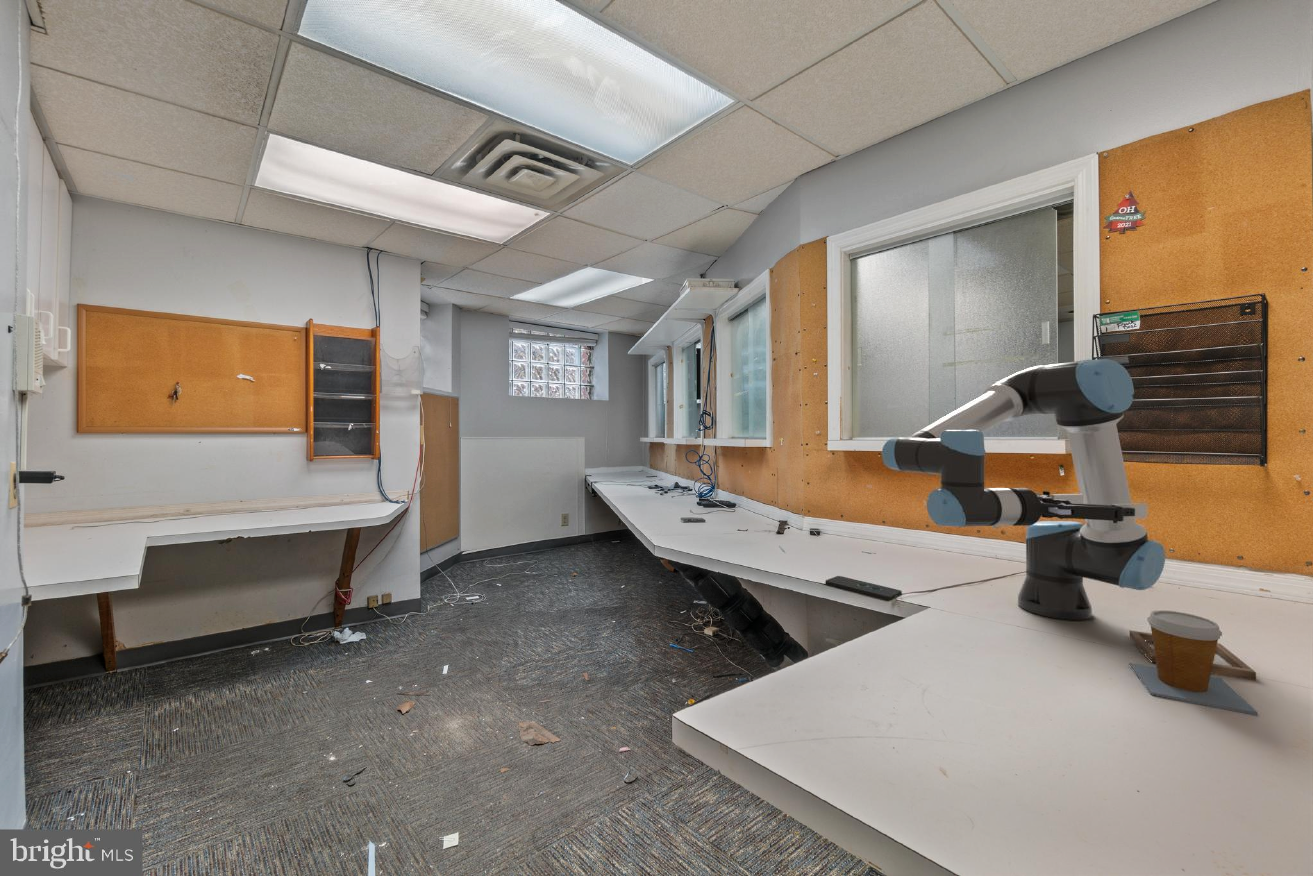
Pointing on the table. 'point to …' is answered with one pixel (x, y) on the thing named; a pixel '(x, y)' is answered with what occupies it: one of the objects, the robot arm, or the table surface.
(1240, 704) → the rubber mat
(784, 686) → the table surface
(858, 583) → the smart home device
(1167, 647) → the disposable coffee cup
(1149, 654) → the cup holder frame
